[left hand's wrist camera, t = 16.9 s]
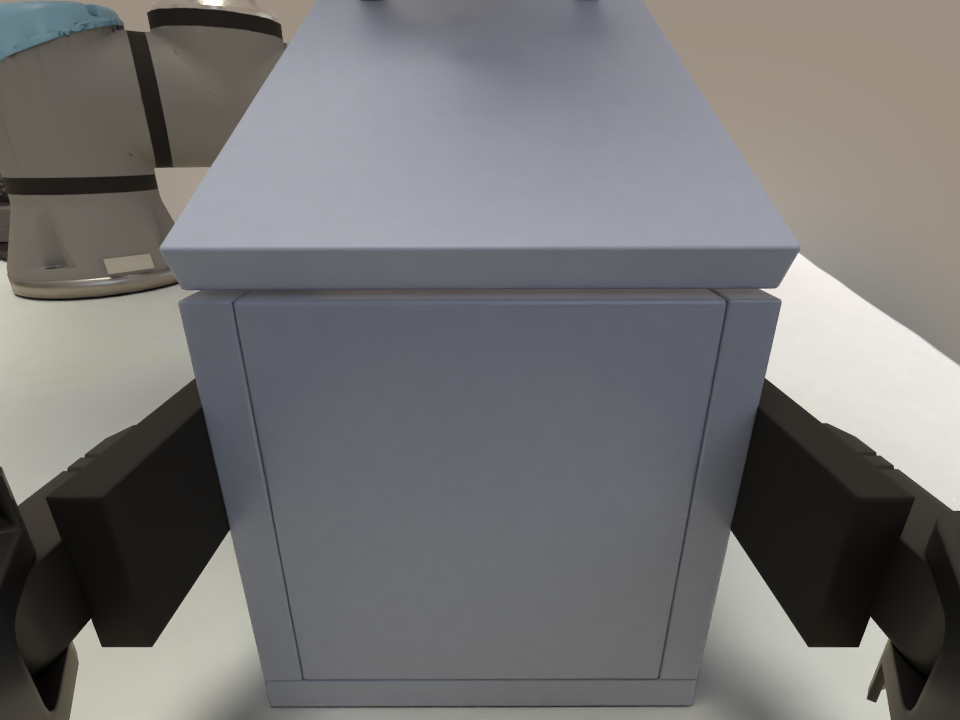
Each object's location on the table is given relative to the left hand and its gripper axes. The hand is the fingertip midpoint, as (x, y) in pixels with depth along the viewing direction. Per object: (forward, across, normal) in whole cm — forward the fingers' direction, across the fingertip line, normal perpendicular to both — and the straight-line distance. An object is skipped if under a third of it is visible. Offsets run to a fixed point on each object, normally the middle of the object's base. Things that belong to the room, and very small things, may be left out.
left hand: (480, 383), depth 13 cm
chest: (+3, 0, -6) cm, 7 cm away
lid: (+3, 0, +7) cm, 7 cm away
